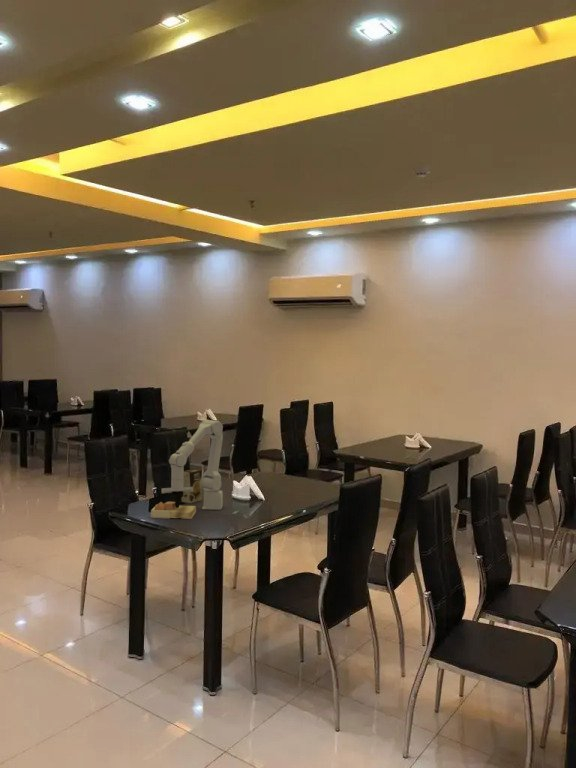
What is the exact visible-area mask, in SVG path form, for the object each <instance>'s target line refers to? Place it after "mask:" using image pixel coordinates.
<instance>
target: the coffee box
mask: <svg viewBox="0 0 576 768" xmlns="http://www.w3.org/2000/svg"><path fill="white" fill-rule="evenodd" d="M202 470H203V469H202ZM202 470H201V469H195V468H194V469H192V468H191V469H188V470H187V469H186V470H184V482H183V487H193V492H183V496H182V498H181V502H182V503H186V504H193V503H197V502H199V501H202V486H201V479H202V477H203V475H202V474H203V473H202Z"/></svg>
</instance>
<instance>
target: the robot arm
mask: <svg viewBox="0 0 576 768" xmlns="http://www.w3.org/2000/svg"><path fill="white" fill-rule="evenodd" d="M223 428H224V426H223V424H222V423H221V422H220V420H212V419H211V420H210V419H203V420H202V421H201V423H200V424H198V428H197V430H196V431H195V432H194V433H193V435H192V436H191V438H190V439H189V440H188V441H184V442H183V443H182V444H181V446H180V447H179V448H178V450H176V451H175V453H173V454H171V455H170V456H169V459H168V463H169V465H170V468H171V469H170V470H171V473H170V474H171V476H170V477H171V481H170V482H171V484H170V485H171V486H170V487H165V488H164V487H163V488H162V487H161V494H167V493H168V494H170V493H171V495H172V498H173V502H175V507H176V508H179V506H180V505H181V504H180V503H181V502H182V496H183V492H193V487H183V482H184V471H185V470H184V469H185V468H184V467H185V465H186V464H187V461H188V457H190V455H191V454H192V453H193V451H194V450H195V446H196V445H197V444H198V443H199V442H200V441H201V440H202V439H203V438H204V436H207V435H208V436H209V438H210V439H211V441H210V448H209V454H208V460H207V469H206V471H205V472H203V473H202V474H203V475H202V479H201V488H202V490H203V506H202V507H201V510H215V511H217V510H219V511H220V510H222V508H223V505H224V504H223V503H224V500H223V497H224V495H223V494H224V493H223V490H221V487H222V476H221V474H220V473H219V466H220V460H221V453H222V447H223V446H222V445H223V439H224V435H223Z"/></svg>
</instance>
